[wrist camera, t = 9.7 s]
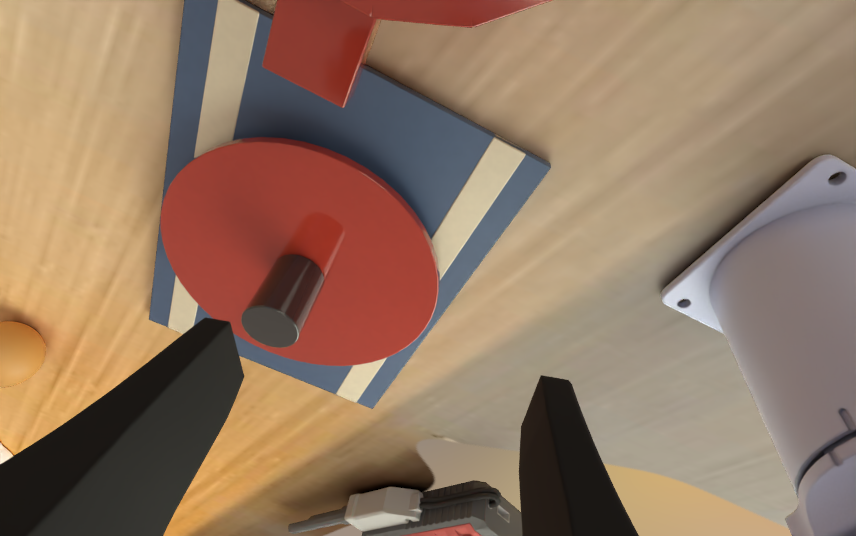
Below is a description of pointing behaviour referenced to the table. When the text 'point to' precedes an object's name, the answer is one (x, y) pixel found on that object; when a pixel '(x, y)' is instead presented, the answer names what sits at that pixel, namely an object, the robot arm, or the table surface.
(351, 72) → the pot
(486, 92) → the table surface
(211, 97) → the towel
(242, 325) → the lid
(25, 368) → the figurine
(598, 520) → the robot arm
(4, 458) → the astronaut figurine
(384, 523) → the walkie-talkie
